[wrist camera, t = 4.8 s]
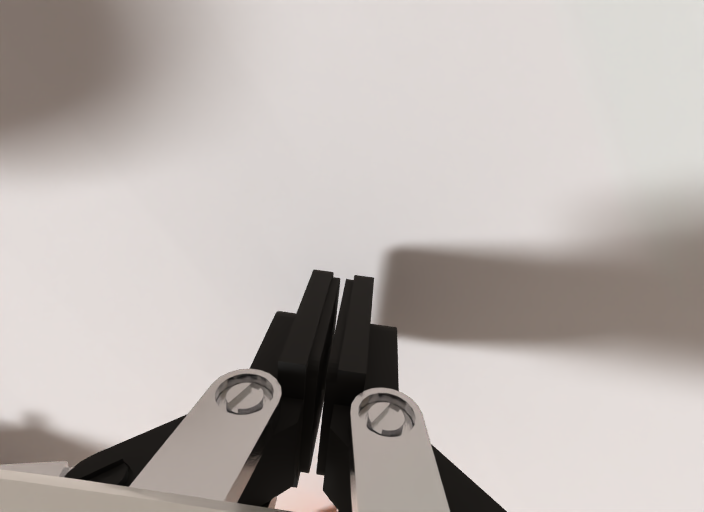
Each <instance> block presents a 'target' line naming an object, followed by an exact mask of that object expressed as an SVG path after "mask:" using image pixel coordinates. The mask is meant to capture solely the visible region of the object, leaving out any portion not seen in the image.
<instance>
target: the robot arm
mask: <svg viewBox="0 0 704 512" xmlns="http://www.w3.org/2000/svg"><path fill="white" fill-rule="evenodd" d="M373 283H374V278H372V277H365V276H357V275H355V276H354V280H349V279H346V282H345V287H344V292H343V297H342V301H341V306H340V311H339V315H338V320H337V325H336V330H335V324H336V315H337V305H338V296H339V287H340V278H334V277H333V272H328V271H320V270H313V272H312V275H311V278H310V280H309V283H308V285H307V288H306V290H305V293H304V296H303V298H302V301H301V303H300V306H299V309H298V311H297V314H295V313H288V312H281V311H278V312H277V313H276V314H275V316H274V318H273V320H272V323H271V325H270V327H269V329H268V331H267V333H266V335H265V337H264V339H263V342H262V344H261V346H260V348H259V350H258V352H257V354H256V356H255V358H254V361H253V363H252V365H251V367H250V369H239V370H236V371H232V372H229V373H227V374H225V375H223V376H221V377H219V378H218V379H217V380H216V381H215V382H214V383H213V384H212V385H211V386H210V387H209V388H208V390H207V391H206V392H205V393H204V395H203V396H202V397H201V398H200V399H199V401H198V402H197V403H196V404H195V406H194V407H193V408H192V409H191V411H190V412H189V413H188V414H187V415H185V416H182V417H180V418H178V419H175V420H173V421H171V422H168V423H166V424H164V425H161V426H159V427H157V428H154V429H152V430H150V431H147V432H145V433H143V434H140V435H138V436H136V437H133V438H131V439H129V440H126V441H124V442H122V443H119V444H117V445H115V446H112V447H110V448H108V449H105V450H103V451H101V452H98V453H96V454H94V455H92V456H90V457H88V458H87V459H85V460H83V461H81V462H80V463H78V464H77V465H76V466H75V467H69V466H68V462H67V461H53V462H36V463H18V464H0V512H291V511H285V510H279V509H274V508H275V504H276V501H277V496H278V495H279V494H281V493H282V492H284V491H286V490H287V489H289V488H290V487H296V488H297V485H298V480H299V476H300V472H305V473H309V471H310V466H311V462H312V457H313V452H314V447H315V442H316V437H317V432H318V427H319V422H320V417H321V412H322V407H323V414H322V424H321V433H320V443H319V453H318V462H317V472H316V474H318V475H324V484H323V491H324V492H325V494H326V495H327V496H328V498H329V499H330V500H331V501H332V503H333V504H334V505H335V507H336V508H337V511H336V512H507V511H506V510H504V509H503V508H502V507H501V506H500V505H499V504H498V503H497V502H495V501H494V500H493V499H492V498H491V497H490V496H489V495H488V494H487V493H485V492H484V491H483V490H482V489H481V488H480V487H479V486H478V485H476V484H475V483H474V482H473V481H472V480H471V479H470V478H469V477H467V476H466V475H465V474H464V473H463V472H462V471H461V470H460V469H458V468H457V467H456V466H455V465H454V464H453V463H452V462H451V461H449V460H448V459H447V458H446V457H445V456H444V455H443V454H442V453H440V452H439V451H438V450H437V449H436V448H435V447H434V446H433V445H431V443H430V439H429V436H428V432H427V428H426V425H425V421H424V418H423V415H422V412H421V410H420V408H419V406H418V405H417V404H416V403H415V402H414V401H413V400H412V399H411V398H410V397H408V396H407V395H405V394H404V393H402V392H399V388H398V349H397V328H396V327H389V326H382V325H375V324H370V321H371V309H372V296H373ZM334 333H335V334H334ZM323 402H324V404H323Z"/></svg>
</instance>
